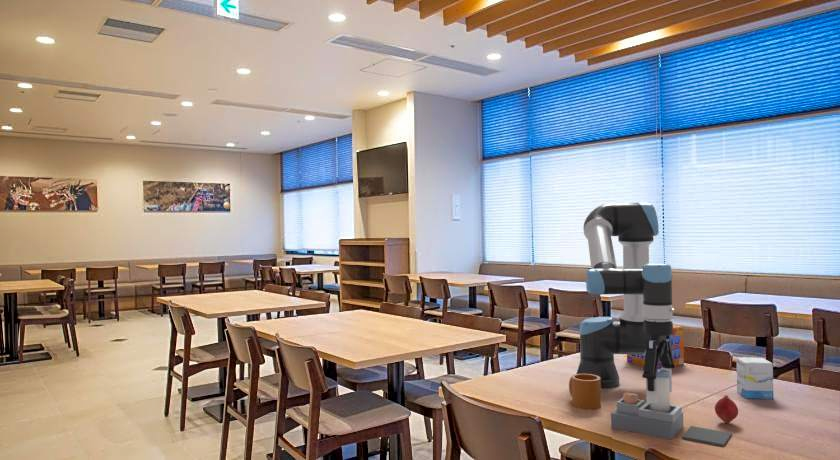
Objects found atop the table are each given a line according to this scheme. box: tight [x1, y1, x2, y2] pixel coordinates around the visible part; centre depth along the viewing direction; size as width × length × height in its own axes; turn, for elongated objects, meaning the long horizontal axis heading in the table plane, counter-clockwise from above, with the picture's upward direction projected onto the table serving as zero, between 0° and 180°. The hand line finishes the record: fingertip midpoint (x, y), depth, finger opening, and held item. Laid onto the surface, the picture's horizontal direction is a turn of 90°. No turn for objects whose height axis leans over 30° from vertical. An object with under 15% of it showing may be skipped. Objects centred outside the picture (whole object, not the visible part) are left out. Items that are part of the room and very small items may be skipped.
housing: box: [610, 396, 684, 440], centre depth 162 cm, size 16×12×6 cm
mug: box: [568, 373, 602, 410], centre depth 184 cm, size 9×12×9 cm
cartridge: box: [650, 368, 671, 413], centre depth 159 cm, size 5×5×12 cm
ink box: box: [735, 356, 775, 400], centre depth 190 cm, size 8×8×12 cm
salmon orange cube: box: [623, 392, 638, 404], centre depth 164 cm, size 4×4×4 cm
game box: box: [626, 324, 685, 369], centre depth 237 cm, size 16×16×16 cm
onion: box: [714, 394, 739, 424], centre depth 164 cm, size 6×6×8 cm
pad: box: [681, 425, 732, 448], centre depth 153 cm, size 10×10×1 cm
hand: (659, 396), depth 159 cm, fingers open, 13 cm apart
